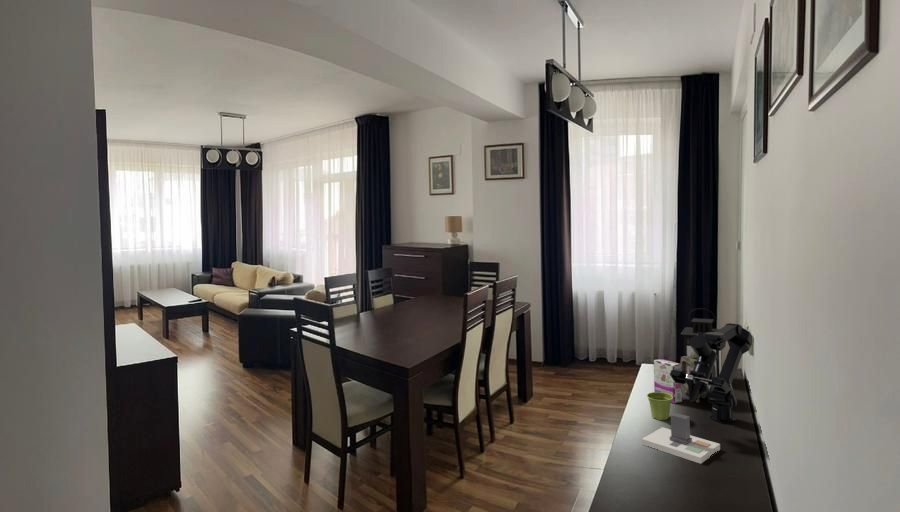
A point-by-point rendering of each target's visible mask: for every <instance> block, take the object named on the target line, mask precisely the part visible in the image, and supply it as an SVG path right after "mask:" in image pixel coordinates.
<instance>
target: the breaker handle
mask: <svg viewBox="0 0 900 512" xmlns="http://www.w3.org/2000/svg"><path fill="white" fill-rule="evenodd" d="M690 417H691V416H689V415H685V414H681V413H677V412H674V413H672V414H671V415H670V430H671V436H670V440H672V441H675V442H678V443H682V444H685V445H686V444H688V443H689V442H691V441H692V438H691V437H690V435H691V421H690Z"/></svg>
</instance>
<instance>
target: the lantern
mask: <svg viewBox="0 0 900 512" xmlns="http://www.w3.org/2000/svg"><path fill="white" fill-rule="evenodd" d="M695 310H705V311H707V312H710V313H711V314H712V315H713V317H714V318H712V319H711V318H696V317H694V318H692V320H691V319H690V317H688V320H689V321H690V322H691V323H692V327H688V326H686V327H684V329H683V330H682V331H681V333H680V335H683V351H684V355H683V356H690V355H691V353H692V352H694V351H693V349H692V348H691V346H690V344H689V340H690V339H691V338H692V337H693V336H696V335H698V333H708V332H716V331H718V330H719V329H720V328H713V323H715V322H716V315H715V314H714V312H712V311H711V310H710V309H707V308H702V307H700V308H694V309H692V310H691V311H690V312H689V313H688V316H691V313H692V312H694V311H695ZM722 350H723V349H722ZM722 350H721V351H719V350H714V351H715V352H716V354H717V357H718V360H715V363H714V364H715V368H716V377H719V374H720V372H721V369H722V366H723V359H722V358H723V352H722Z"/></svg>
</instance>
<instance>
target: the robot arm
mask: <svg viewBox="0 0 900 512" xmlns="http://www.w3.org/2000/svg"><path fill="white" fill-rule="evenodd" d="M718 329H719V330H718V331H716V332H708V333H698V335H696V336H693V337H692V338H691V339H690V340H689V344H690V346H691V348H692V349H693V351H694V352H695V354H696V355H697V356H698V358H697V360H696V361H694V364H695V366H694V368H693V371H692V370H691V371H690V373H691V375H685V373H684V372H683V371H682V370H677V369H673V370H671V372H670V376H671V377H672V379H673V380H674V382H676V383H680V384H685V383H687V385H688V390H689V394H688V397H689V401H690V403H694V402H695V401H696V399H698V396H699V395H700V394H701V395H702V393H703V392H707V393H706V396H707V397H706V398H707V401H708V403H711V404H712V407H711V415H710V416H709V418H710V419H712V420H715V421H716V422H718V423H721V424H727V423H731V422H737V419H736V418H734V417H733V408H737V405H738V398H737V397H736V395H735V393H734V392H735V391H734V388H733V385H732V384H733V381H734V378H735V375H736V373H737V370H738V367H739V364H740V362H741V360H742V357H743V355H744V354H746V353H747V352H748V351H750V349H751V346H752V345H753V344H752V337H753V338H754V336H753V335H752V333H751V332H750V331H749V330H747V329H746V328H743V326H742V325H741V324H739V323H732V322H731V323H730V322H729V323H725V325H724V326H723V327H721V328H718ZM726 344H728V346H729V348H728V350H727V354H726V356H725V360H724V361H723V363H722V369H721V372H720V374H719V377H713V370H712V369H713V366H714V363H715V360H718V357H717V354H716V352H715V351H714V350H719V351H721V350H724V348H725V347H726ZM703 394H704V393H703ZM701 395H700V396H701Z"/></svg>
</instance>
